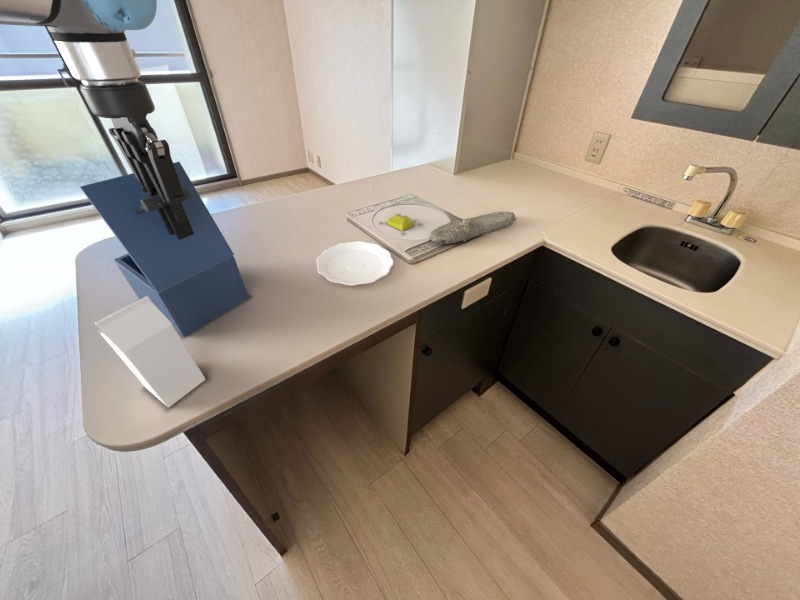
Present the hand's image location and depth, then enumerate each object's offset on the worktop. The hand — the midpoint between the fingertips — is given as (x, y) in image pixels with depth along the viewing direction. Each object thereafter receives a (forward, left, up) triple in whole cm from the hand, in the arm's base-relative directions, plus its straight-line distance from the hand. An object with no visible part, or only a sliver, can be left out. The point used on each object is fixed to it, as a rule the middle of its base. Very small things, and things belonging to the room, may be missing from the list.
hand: (181, 233), depth 60 cm
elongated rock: (+73, -29, -22) cm, 81 cm away
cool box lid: (0, +5, 0) cm, 5 cm away
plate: (+34, -11, -22) cm, 42 cm away
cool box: (0, +10, -21) cm, 24 cm away
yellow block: (+62, -7, -22) cm, 66 cm away
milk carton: (-15, -10, -22) cm, 28 cm away
